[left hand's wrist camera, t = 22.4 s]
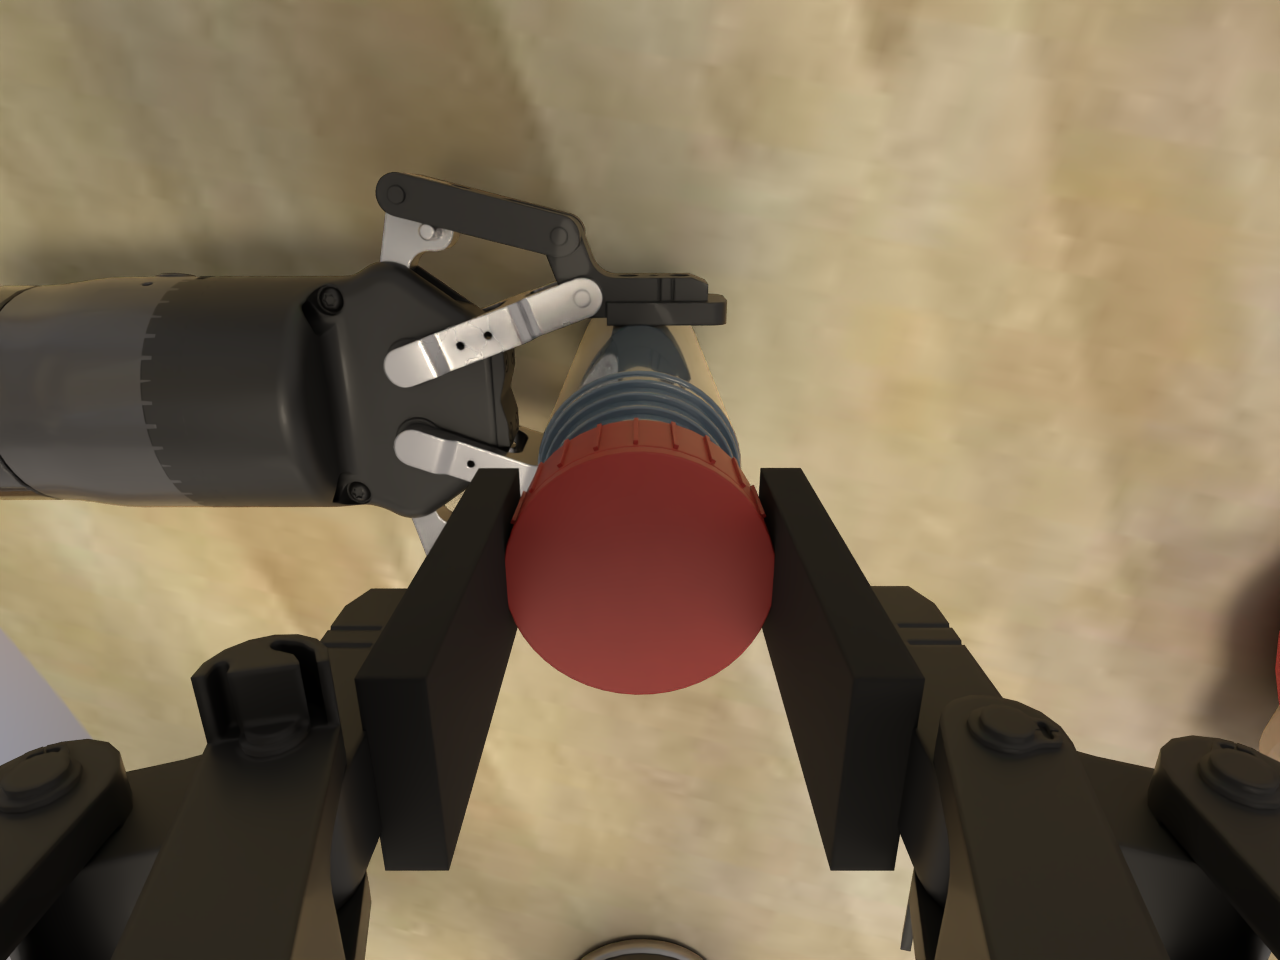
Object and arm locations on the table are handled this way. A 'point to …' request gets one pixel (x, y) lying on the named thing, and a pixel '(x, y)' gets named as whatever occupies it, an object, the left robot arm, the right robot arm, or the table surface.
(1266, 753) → the toy
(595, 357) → the bottle
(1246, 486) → the table surface
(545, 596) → the cap
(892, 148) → the table surface
